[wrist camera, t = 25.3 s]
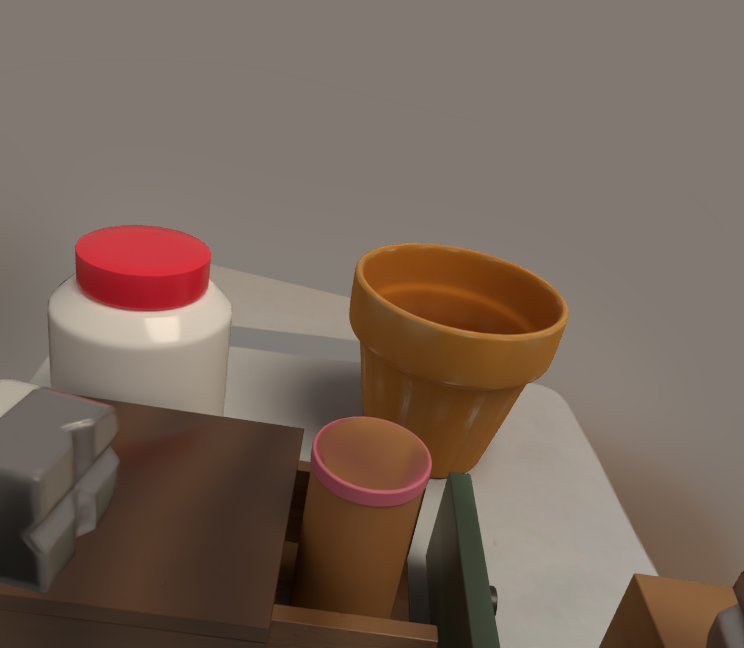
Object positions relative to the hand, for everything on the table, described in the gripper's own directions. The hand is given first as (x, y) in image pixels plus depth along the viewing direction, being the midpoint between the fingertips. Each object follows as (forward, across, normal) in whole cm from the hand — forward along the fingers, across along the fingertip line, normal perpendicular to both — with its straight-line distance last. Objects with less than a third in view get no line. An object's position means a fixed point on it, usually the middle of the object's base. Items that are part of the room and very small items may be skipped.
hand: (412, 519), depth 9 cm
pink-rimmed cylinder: (+17, -1, -22) cm, 28 cm away
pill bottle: (+27, -16, -24) cm, 40 cm away
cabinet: (+15, -12, -24) cm, 31 cm away
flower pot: (+36, +1, -24) cm, 43 cm away
